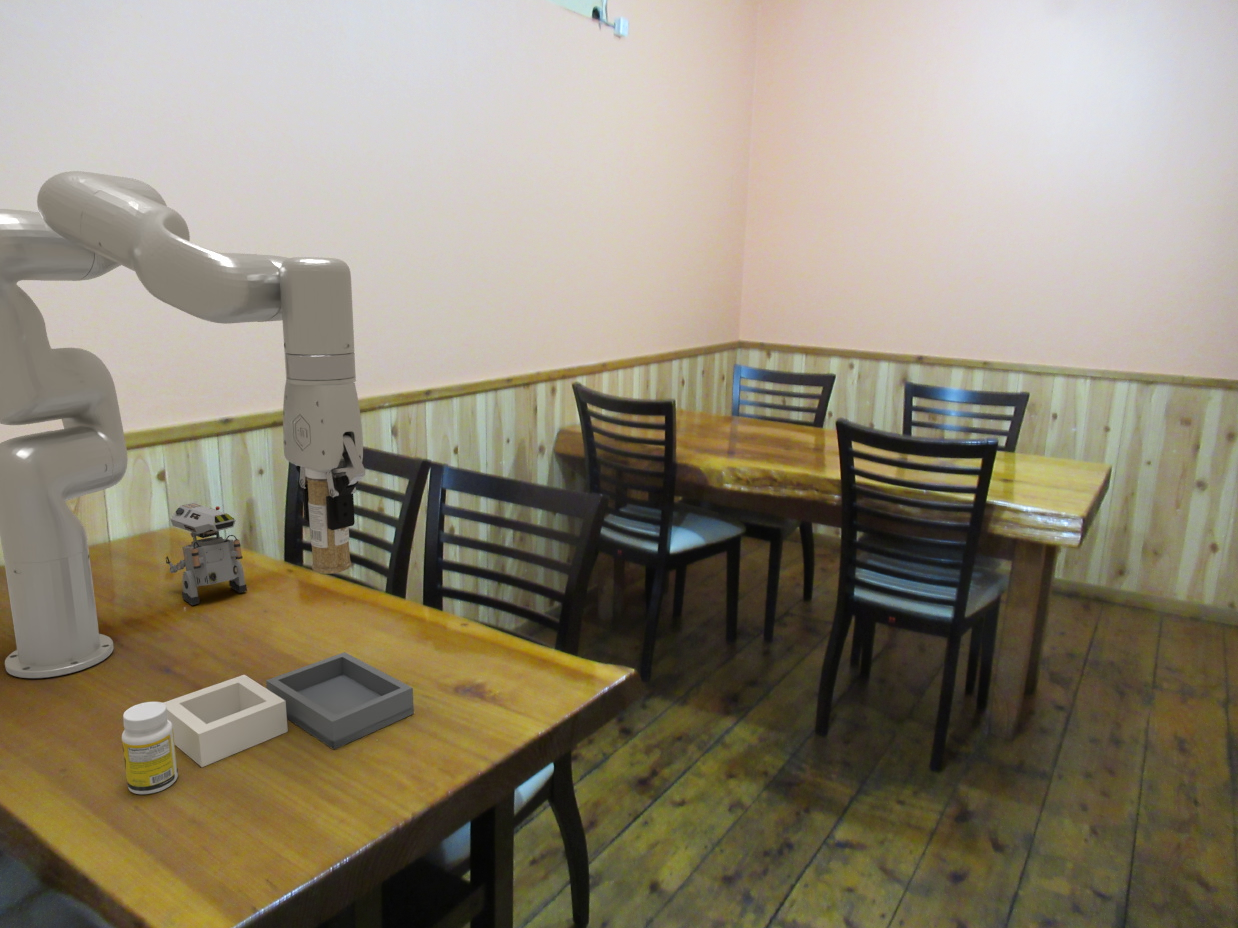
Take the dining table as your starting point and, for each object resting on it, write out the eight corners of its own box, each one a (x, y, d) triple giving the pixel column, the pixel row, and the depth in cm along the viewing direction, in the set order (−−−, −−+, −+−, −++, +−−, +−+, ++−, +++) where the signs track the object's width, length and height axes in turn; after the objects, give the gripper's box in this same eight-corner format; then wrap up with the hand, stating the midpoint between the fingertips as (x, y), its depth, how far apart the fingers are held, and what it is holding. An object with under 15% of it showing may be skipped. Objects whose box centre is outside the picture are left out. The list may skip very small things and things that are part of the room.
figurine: (223, 578, 149) (216, 496, 146) (251, 595, 142) (244, 509, 139) (168, 591, 143) (159, 505, 140) (194, 609, 135) (185, 519, 132)
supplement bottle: (140, 770, 92) (132, 699, 90) (185, 768, 92) (178, 698, 90) (118, 796, 87) (109, 722, 85) (166, 795, 87) (158, 721, 86)
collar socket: (163, 734, 99) (159, 703, 98) (246, 703, 106) (244, 674, 105) (202, 767, 92) (198, 734, 92) (287, 731, 100) (285, 700, 99)
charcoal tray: (268, 705, 106) (266, 680, 105) (345, 675, 114) (344, 651, 113) (334, 749, 96) (332, 721, 96) (413, 713, 105) (412, 687, 104)
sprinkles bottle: (356, 570, 101) (350, 460, 98) (316, 577, 98) (310, 464, 95) (345, 559, 104) (339, 453, 101) (307, 566, 102) (300, 457, 99)
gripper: (252, 365, 98) (263, 515, 102) (331, 378, 88) (340, 545, 92) (311, 361, 104) (319, 504, 108) (392, 373, 93) (398, 531, 97)
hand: (329, 521), depth 100 cm, fingers closed on sprinkles bottle, 4 cm apart
